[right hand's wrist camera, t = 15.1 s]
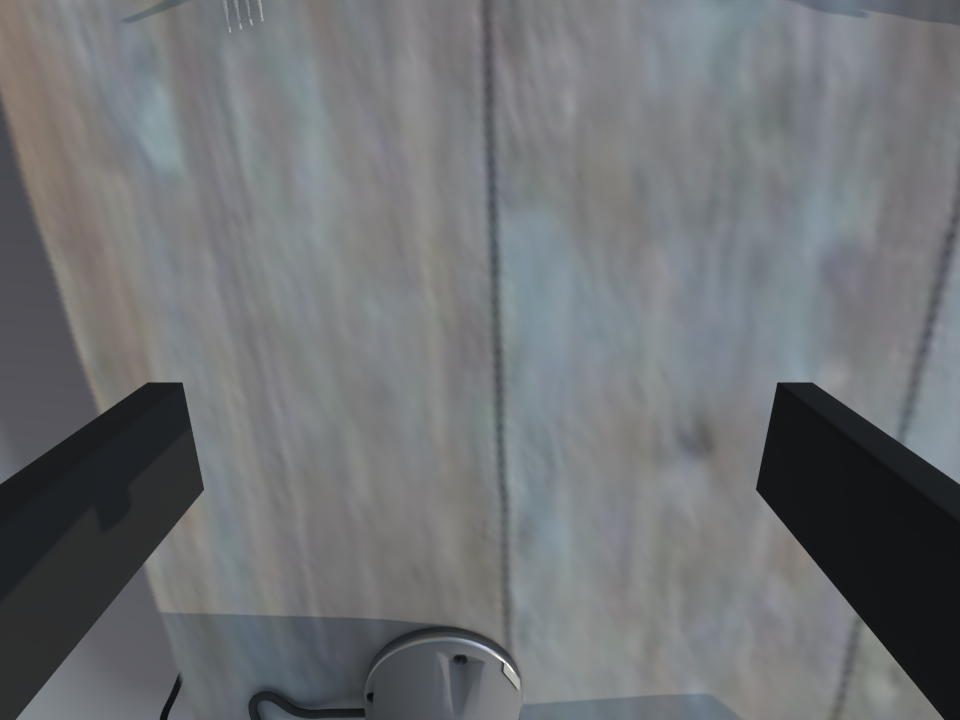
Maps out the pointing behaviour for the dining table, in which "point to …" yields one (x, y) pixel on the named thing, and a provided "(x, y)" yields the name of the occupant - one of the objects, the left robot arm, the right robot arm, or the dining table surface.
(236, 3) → the fork
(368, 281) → the dining table surface
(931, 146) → the dining table surface
